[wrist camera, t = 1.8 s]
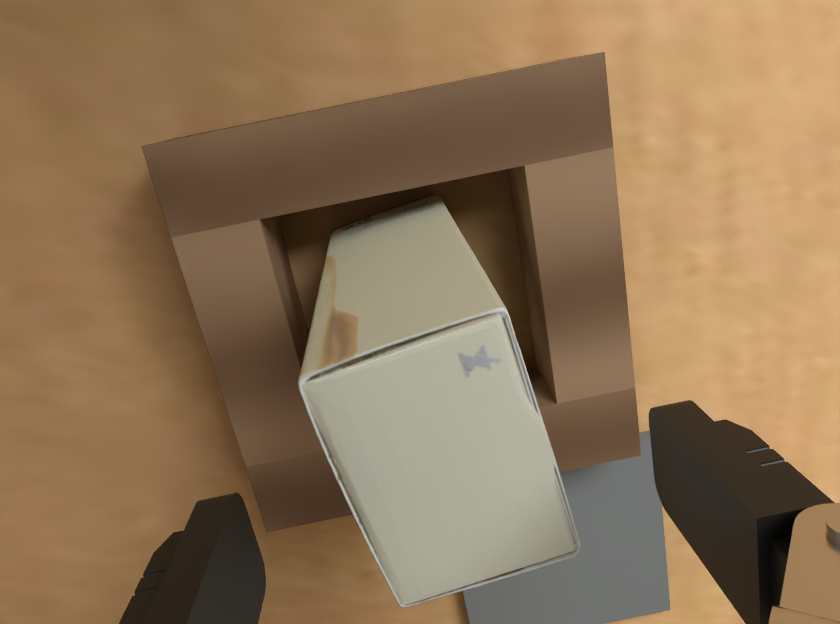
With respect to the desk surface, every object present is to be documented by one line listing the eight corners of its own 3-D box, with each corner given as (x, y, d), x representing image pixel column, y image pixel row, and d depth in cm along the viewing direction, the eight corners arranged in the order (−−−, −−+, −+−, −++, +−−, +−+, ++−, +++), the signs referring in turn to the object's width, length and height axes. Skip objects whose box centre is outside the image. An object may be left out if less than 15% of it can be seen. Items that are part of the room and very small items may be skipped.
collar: (171, 139, 22) (141, 146, 19) (575, 57, 22) (604, 52, 19) (278, 485, 27) (267, 531, 24) (612, 417, 27) (641, 455, 24)
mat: (438, 474, 27) (439, 481, 26) (650, 430, 27) (656, 437, 26) (472, 639, 30) (475, 649, 29) (664, 600, 30) (670, 609, 29)
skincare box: (327, 230, 24) (279, 365, 12) (440, 190, 23) (505, 288, 12) (386, 382, 26) (396, 623, 14) (492, 346, 25) (589, 561, 14)
